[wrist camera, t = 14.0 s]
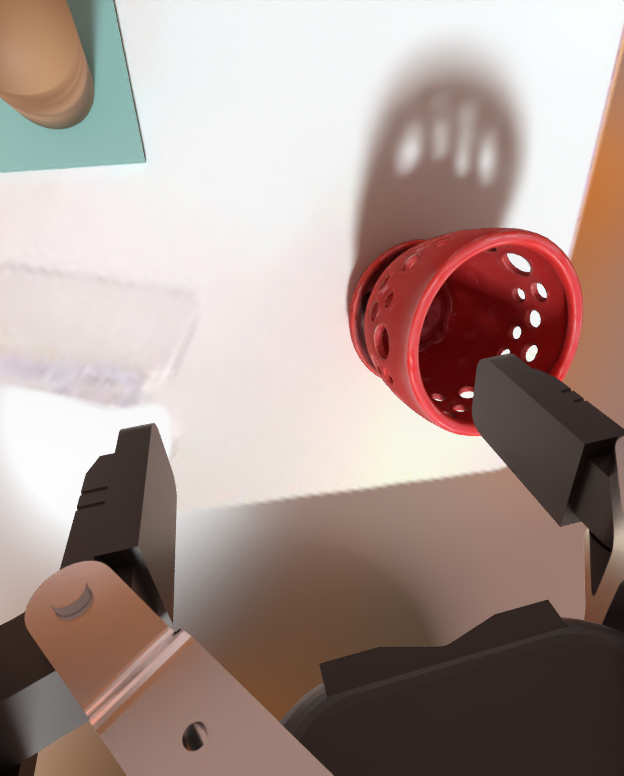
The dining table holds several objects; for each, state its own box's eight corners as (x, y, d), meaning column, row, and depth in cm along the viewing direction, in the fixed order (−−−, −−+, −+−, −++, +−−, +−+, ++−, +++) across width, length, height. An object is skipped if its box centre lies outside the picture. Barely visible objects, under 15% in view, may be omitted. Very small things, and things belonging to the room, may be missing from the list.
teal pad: (110, -15, 26) (109, -18, 26) (145, 163, 30) (145, 162, 29) (-77, -19, 24) (-80, -23, 24) (-15, 173, 27) (-17, 173, 27)
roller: (80, 29, 26) (53, -61, 17) (104, 126, 28) (90, 90, 19) (-16, 30, 25) (-99, -66, 16) (15, 132, 27) (-44, 96, 18)
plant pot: (489, 335, 43) (601, 378, 32) (366, 405, 41) (441, 474, 31) (452, 194, 37) (576, 189, 26) (308, 269, 35) (377, 296, 25)
